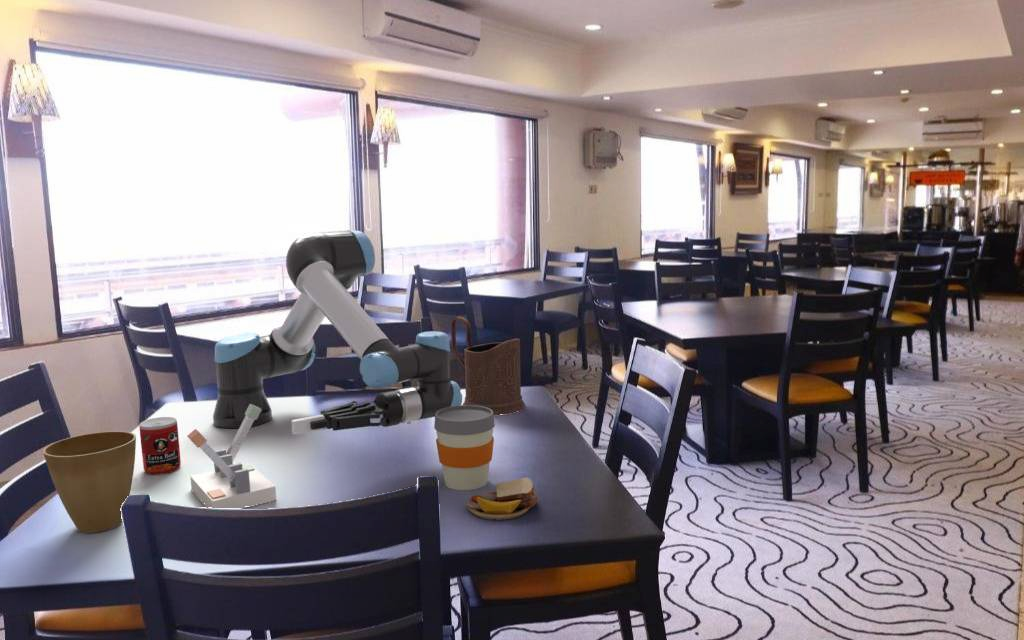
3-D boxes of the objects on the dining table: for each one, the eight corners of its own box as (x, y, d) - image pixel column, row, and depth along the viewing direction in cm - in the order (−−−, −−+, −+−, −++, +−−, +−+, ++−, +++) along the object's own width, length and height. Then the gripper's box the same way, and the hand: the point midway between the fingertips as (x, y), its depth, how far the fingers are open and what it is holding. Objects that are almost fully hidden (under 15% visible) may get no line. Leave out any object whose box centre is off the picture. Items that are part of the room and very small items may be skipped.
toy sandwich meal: (472, 495, 152) (471, 472, 151) (539, 496, 150) (539, 474, 150) (462, 521, 139) (461, 497, 139) (534, 523, 138) (534, 498, 137)
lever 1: (235, 487, 149) (186, 436, 143) (243, 480, 150) (195, 428, 143) (238, 491, 147) (189, 439, 141) (247, 483, 148) (198, 431, 142)
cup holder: (499, 419, 203) (497, 328, 199) (433, 406, 217) (430, 320, 213) (538, 404, 217) (537, 318, 213) (474, 392, 232) (472, 312, 228)
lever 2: (216, 468, 158) (249, 403, 160) (225, 471, 159) (258, 407, 161) (219, 471, 156) (253, 406, 158) (228, 474, 157) (261, 409, 159)
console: (191, 489, 157) (188, 455, 156) (249, 476, 164) (247, 443, 163) (213, 516, 143) (210, 479, 142) (276, 500, 150) (273, 465, 149)
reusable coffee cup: (473, 498, 150) (471, 425, 147) (424, 486, 156) (421, 416, 154) (507, 477, 160) (506, 409, 158) (459, 467, 167) (457, 402, 164)
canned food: (144, 477, 164) (139, 429, 163) (143, 466, 171) (138, 419, 170) (182, 471, 168) (178, 423, 166) (179, 460, 175) (175, 414, 173)
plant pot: (157, 507, 148) (149, 429, 145) (120, 541, 133) (111, 454, 131) (81, 509, 148) (71, 431, 145) (35, 543, 133) (24, 457, 130)
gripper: (411, 430, 163) (305, 453, 149) (384, 416, 173) (282, 436, 159) (410, 397, 161) (303, 417, 148) (382, 385, 172) (280, 402, 158)
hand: (293, 427), depth 154 cm, fingers closed
